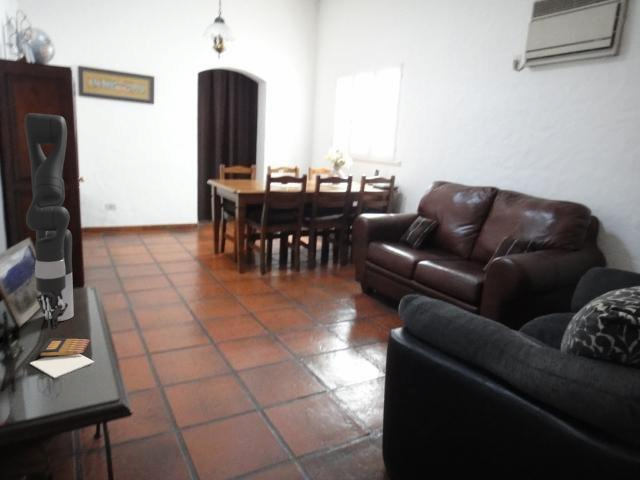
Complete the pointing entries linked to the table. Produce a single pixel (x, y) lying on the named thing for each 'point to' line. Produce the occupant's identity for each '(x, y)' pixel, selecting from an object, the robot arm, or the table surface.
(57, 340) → the ammunition clip
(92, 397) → the table surface
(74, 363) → the mat
